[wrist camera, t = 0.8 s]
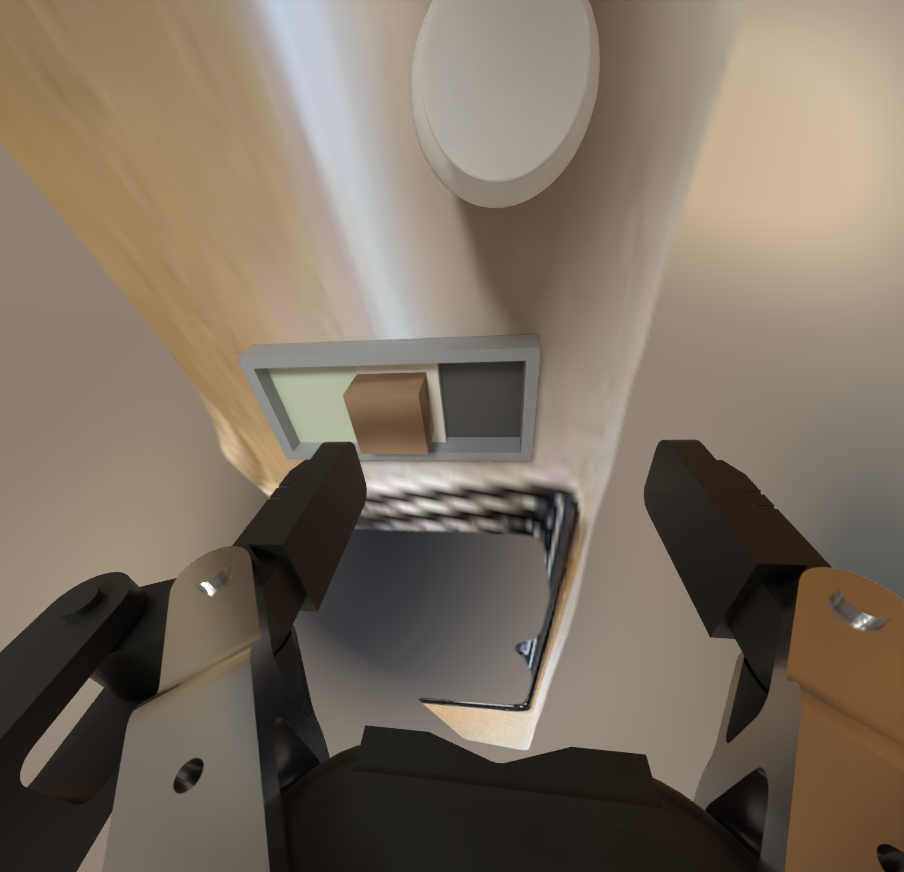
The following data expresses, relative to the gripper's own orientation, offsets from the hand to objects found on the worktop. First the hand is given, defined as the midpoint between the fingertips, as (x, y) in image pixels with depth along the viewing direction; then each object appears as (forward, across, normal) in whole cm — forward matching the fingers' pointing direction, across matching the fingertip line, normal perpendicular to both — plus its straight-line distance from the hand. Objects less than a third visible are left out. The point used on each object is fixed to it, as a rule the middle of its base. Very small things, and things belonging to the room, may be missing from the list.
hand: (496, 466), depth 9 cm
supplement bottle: (+19, 0, -10) cm, 21 cm away
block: (+19, +9, +8) cm, 23 cm away
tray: (+20, +9, +8) cm, 23 cm away
